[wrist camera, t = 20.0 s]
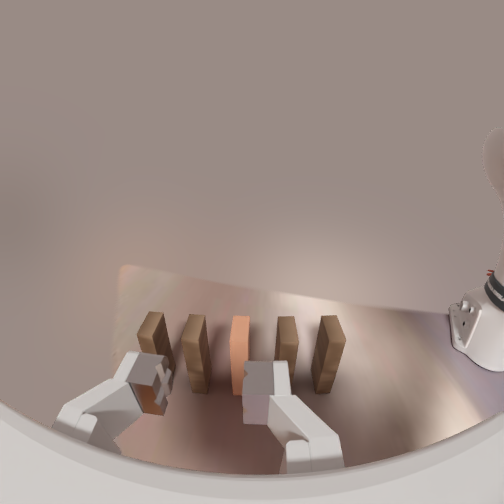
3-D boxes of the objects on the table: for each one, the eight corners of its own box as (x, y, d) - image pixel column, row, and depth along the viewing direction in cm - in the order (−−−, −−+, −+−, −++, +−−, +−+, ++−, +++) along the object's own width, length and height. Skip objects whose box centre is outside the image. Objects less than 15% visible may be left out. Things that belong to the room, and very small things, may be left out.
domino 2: (211, 369, 37) (204, 315, 33) (207, 393, 32) (198, 340, 28) (198, 368, 37) (189, 314, 33) (192, 392, 32) (180, 338, 28)
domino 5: (323, 368, 37) (336, 315, 33) (329, 392, 32) (346, 339, 28) (310, 369, 37) (321, 315, 33) (315, 394, 32) (329, 340, 28)
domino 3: (249, 370, 37) (249, 316, 33) (248, 395, 32) (247, 341, 28) (235, 369, 37) (233, 315, 33) (233, 395, 32) (229, 341, 28)
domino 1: (175, 366, 37) (163, 312, 33) (168, 389, 32) (152, 336, 28) (162, 364, 37) (149, 311, 33) (154, 387, 32) (136, 334, 29)
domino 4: (287, 370, 37) (294, 316, 33) (290, 395, 32) (298, 341, 28) (273, 370, 37) (277, 316, 33) (274, 395, 32) (280, 342, 28)
